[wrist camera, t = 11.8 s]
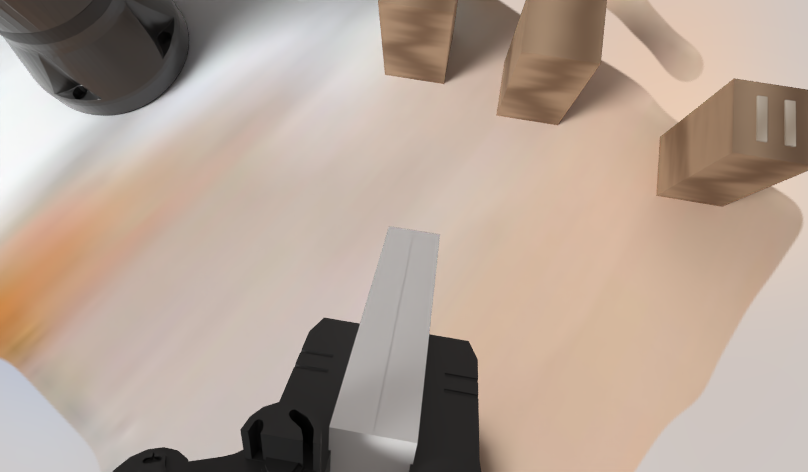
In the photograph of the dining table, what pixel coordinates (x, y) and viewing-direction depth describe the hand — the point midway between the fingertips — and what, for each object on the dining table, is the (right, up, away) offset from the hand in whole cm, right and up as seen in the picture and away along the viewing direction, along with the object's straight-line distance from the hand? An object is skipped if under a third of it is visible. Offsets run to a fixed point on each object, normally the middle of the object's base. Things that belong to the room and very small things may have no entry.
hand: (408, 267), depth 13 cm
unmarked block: (+12, +15, +31) cm, 36 cm away
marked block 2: (+1, +20, +32) cm, 37 cm away
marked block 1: (+27, +7, +29) cm, 40 cm away
